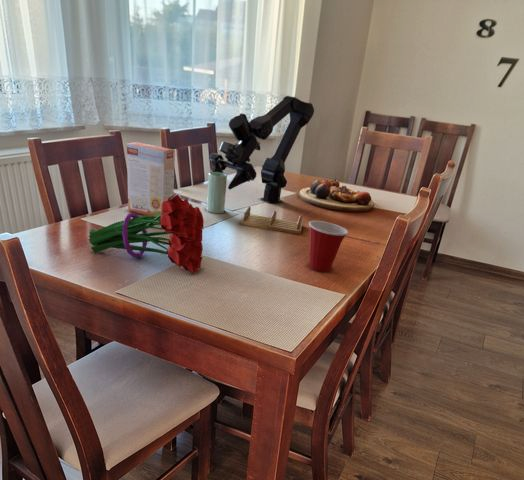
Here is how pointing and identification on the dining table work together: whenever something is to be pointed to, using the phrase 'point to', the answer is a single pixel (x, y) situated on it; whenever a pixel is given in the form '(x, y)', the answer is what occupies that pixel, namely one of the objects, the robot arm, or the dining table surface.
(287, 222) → the drying rack
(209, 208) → the tumbler
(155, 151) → the cracker box
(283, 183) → the robot arm
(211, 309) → the dining table surface
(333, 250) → the plastic cup
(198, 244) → the bouquet
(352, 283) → the dining table surface
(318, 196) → the wooden plate
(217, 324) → the dining table surface
